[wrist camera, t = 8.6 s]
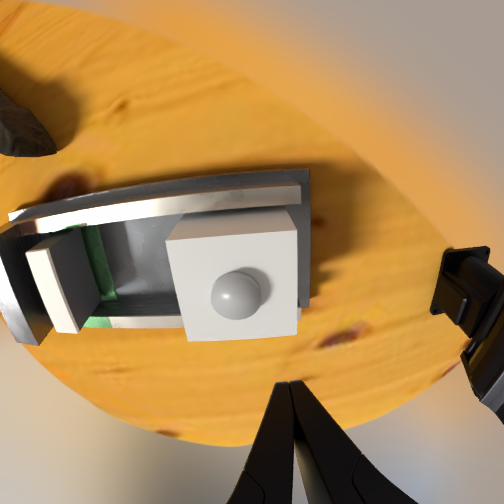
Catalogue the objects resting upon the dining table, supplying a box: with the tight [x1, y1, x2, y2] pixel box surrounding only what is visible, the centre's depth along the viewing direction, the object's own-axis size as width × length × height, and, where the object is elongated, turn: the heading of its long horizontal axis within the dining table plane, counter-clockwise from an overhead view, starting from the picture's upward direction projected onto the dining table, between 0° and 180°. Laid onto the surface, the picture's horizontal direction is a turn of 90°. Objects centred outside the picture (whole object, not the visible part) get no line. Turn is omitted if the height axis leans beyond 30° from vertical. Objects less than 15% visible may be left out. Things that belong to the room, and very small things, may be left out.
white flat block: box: [26, 227, 102, 334], centre depth 16 cm, size 2×6×4 cm, turn 4°
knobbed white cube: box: [165, 205, 297, 342], centre depth 16 cm, size 6×6×5 cm
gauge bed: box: [0, 168, 311, 346], centre depth 17 cm, size 24×10×6 cm, turn 94°
